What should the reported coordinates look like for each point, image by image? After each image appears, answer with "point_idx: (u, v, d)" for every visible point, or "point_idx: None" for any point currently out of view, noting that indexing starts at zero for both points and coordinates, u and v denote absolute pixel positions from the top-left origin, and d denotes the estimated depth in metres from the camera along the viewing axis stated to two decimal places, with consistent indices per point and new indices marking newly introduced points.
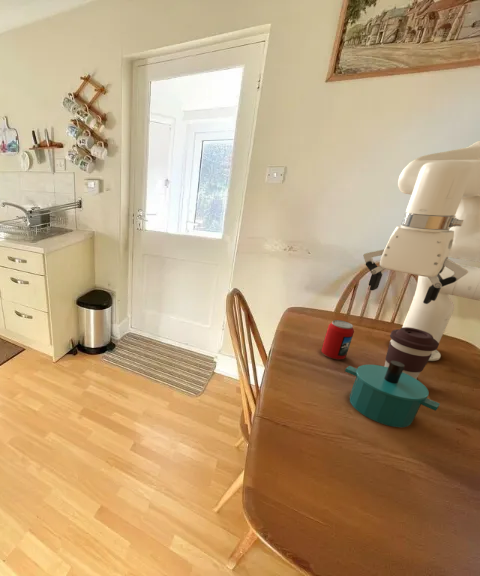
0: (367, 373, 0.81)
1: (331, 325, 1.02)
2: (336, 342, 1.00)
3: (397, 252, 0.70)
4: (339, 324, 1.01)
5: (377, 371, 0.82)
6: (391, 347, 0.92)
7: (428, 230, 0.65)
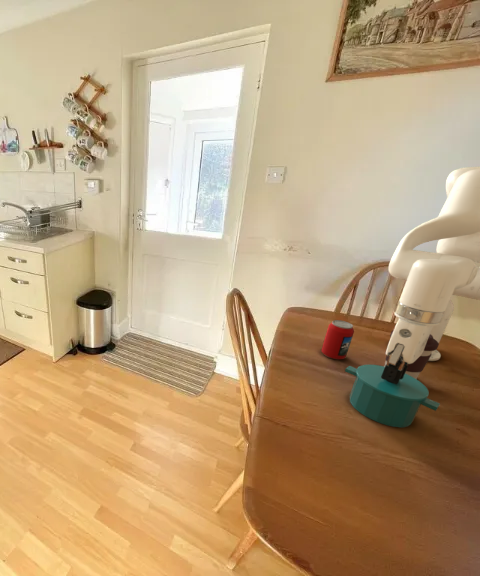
0: (367, 373, 0.81)
1: (331, 325, 1.02)
2: (336, 342, 1.00)
3: None
4: (339, 324, 1.01)
5: (377, 371, 0.82)
6: None
7: (395, 313, 0.74)
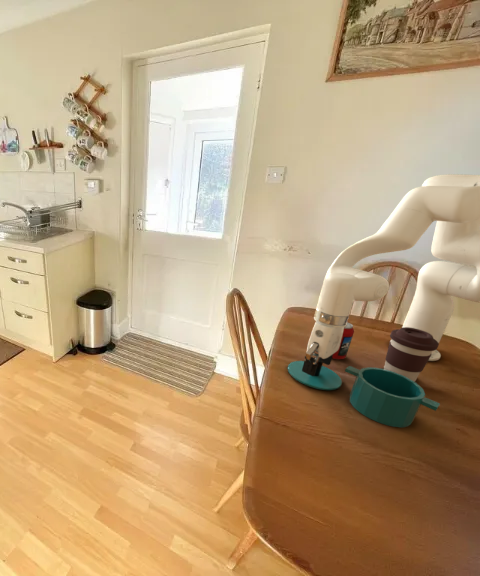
0: (296, 368, 0.97)
1: None
2: None
3: None
4: None
5: None
6: (391, 347, 0.92)
7: (314, 317, 0.90)
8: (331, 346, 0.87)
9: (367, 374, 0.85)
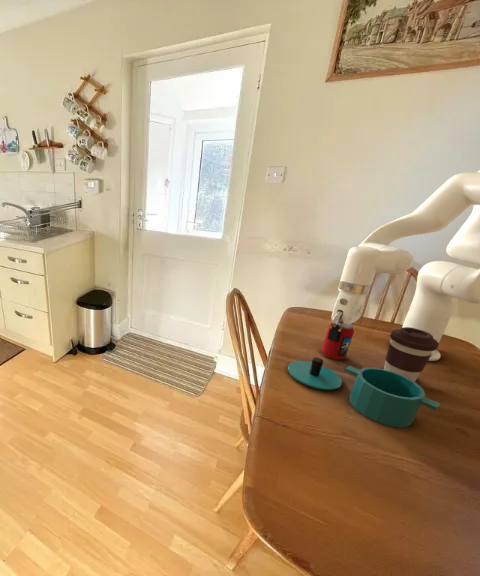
0: (296, 368, 0.97)
1: None
2: (336, 342, 1.00)
3: None
4: (339, 324, 1.01)
5: (305, 366, 0.98)
6: (391, 347, 0.92)
7: (338, 288, 0.99)
8: (354, 313, 0.96)
9: (367, 374, 0.85)
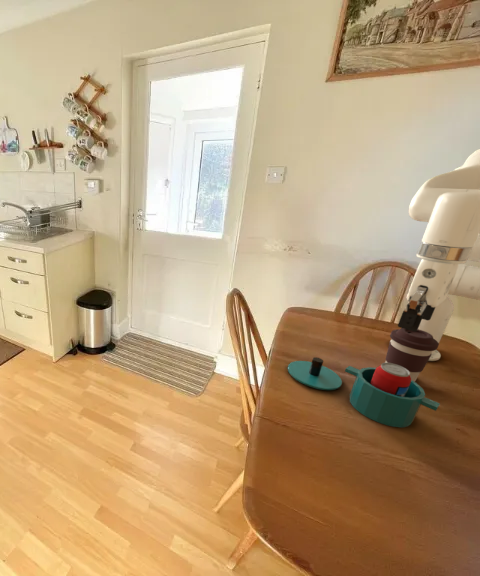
0: (296, 368, 0.97)
1: (380, 370, 0.79)
2: None
3: None
4: (391, 369, 0.78)
5: (305, 366, 0.98)
6: (391, 347, 0.92)
7: (416, 255, 0.69)
8: (444, 290, 0.66)
9: (367, 374, 0.85)
